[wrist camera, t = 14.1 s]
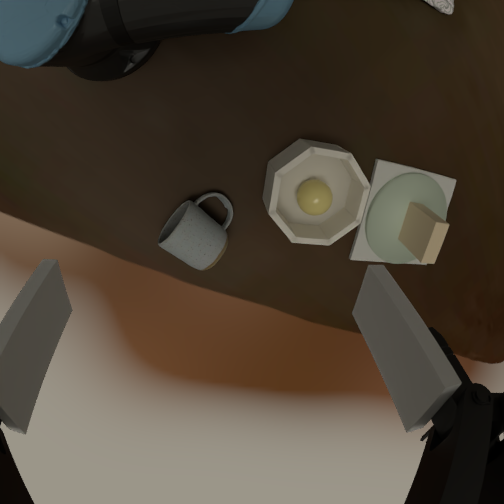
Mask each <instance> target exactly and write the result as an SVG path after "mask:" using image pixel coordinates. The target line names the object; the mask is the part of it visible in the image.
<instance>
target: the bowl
mask: <svg viewBox="0 0 504 504" xmlns="http://www.w3.org/2000/svg"><path fill="white" fill-rule="evenodd" d="M370 187H371V186H370V184H369V183H368V181H367V179H366V177H365V176H364V174H363V172H362V170H361V169H360V167H359V165H358V164H357V162H356V160H355V159H354V157H353V155H352V154H351V153H350V152H348V151H346V150H345V149H343V148H341V147H339V146H338V145H334V144H329V143H323V142H317V141H311V140H305V139H298V140H297V141H296V142H294V143H293V144H291V145H290V146H289V147H287V148H286V149H285V150H283V151H282V152H280V153H279V154H278V155H276V156H275V157H274V158H272V159H271V160H270V161H268V166H267V172H266V179H265V185H264V192H263V198H262V199H263V201H264V204H265V206H266V209H267V212H268V214H269V215H270V216H271V217H272V219H273V220H274V221H275V222H276V223H277V225H278V226H279V227H280V228H281V230H282V231H283V232H284V233H285V235H286V236H287V237H288V238H289V239H290V241H291V242H292V243H304V244H317V245H331V244H332V243H333V242H335V241H336V240H338V239H339V238H341V237H342V236H343V235H345V234H346V233H348V232H349V231H350V230H352V229H353V228H355V227H356V226H357V225H359V224H361V220H362V217H363V213H364V210H365V206H366V202H367V199H368V195H369V191H370Z"/></svg>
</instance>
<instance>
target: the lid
mask: <svg viewBox="0 0 504 504" xmlns="http://www.w3.org/2000/svg"><path fill="white" fill-rule="evenodd" d="M446 216H447V203H446V198H445V194H444V192H443V190H442V188H441V187H440V185H439V184H438V183H437V182H436V181H435V180H433V179H432V178H430V177H428V176H426V175H424V174H421V173H416V172H409V173H404V174H401V175H398V176H396V177H394V178H393V179H391V180H389V181H388V182H387V183H386V184H384V185H383V186H382V187H381V189H380V190H379V191H378V192H377V193H376V195H375V196H374V198H373V200H372V201H371V203H370V206H369V208H368V211H367V214H366V219H365V234H366V239H367V242H368V244H369V246H370V248H371V249H372V250H373V252H374V253H375V254H376V255H377V256H378V257H379V258H381V259H382V260H384V261H386V262H389V263H394V264H401V263H407V262H410V261H413V260H415V259H418V260H419V261H420V263H430V264H434V263H435V261H436V258H437V256H438V253H439V251H440V248H441V246H442V243H443V241H444V238H445V235H446V233H447V230H448V227H449V224H448V223H447V222H446Z"/></svg>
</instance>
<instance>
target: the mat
mask: <svg viewBox="0 0 504 504" xmlns="http://www.w3.org/2000/svg"><path fill="white" fill-rule="evenodd" d="M409 172H416V173H421V174H424V175H426V176H428V177H430V178H432V179H433V180H435V181H436V182H437V183H438V184H439V185H440V187H441V188H442V190H443V192H444V194H445V198H446V203H447V209H448V206H449V203H450V200H451V197H452V194H453V190H454V187H455V184H456V180H455V179H453V178H450V177H446V176H443V175H439V174H436V173H432V172H429V171H425V170H421V169H417V168H414V167H410V166H406V165H402V164H398V163H393V162H389V161H385V160H380V159H376V160H375V164H374V169H373V173H372V177H371V181H370V186H371V187H370V191H369V195H368V199H367V202H366V206H365V210H364V213H363V217H362V220H361V224H359V225H358V229H357V232H356V235H355V239H354V242H353V245H352V249H351V252H350V255H349V259H350V260H361V261H377V262H386V261H384V260H382V259H381V258H379V257H378V256H377V255H376V254H375V253H374V252H373V250H372V249H371V248H370V246H369V244H368V242H367V239H366V234H365V219H366V214H367V211H368V208H369V206H370V203H371V201H372V200H373V198H374V196H375V195H376V193H377V192H378V191H379V190H380V189H381V187H382V186H383V185H384V184H386V183H387V182H388V181H389V180H391V179H393V178H394V177H396V176H398V175H401V174H404V173H409ZM407 263H409V264H425V265H427V263H420V261H419V260H418V259H415V260H413V261H410V262H407Z"/></svg>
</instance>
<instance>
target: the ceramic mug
mask: <svg viewBox="0 0 504 504" xmlns="http://www.w3.org/2000/svg"><path fill="white" fill-rule="evenodd" d="M211 196H216V197H218V199H220V200H221V201H222V203H223V204H224V206H225V208H227V209H228V215H227V218H226V220H225V222H224V224H223V225H222V226H220V225H219V224H218V223H217V222H216V221H215V220H214V219H212V218H211V217H210V216H208V215H207V214H206V213H205V212H204V211H203V210H202V209H201V208H199V207H198V204H199V203H200V202H201V201H202V200H204V199H206V198H207V197H211ZM232 217H233V209H232V205H231V203H230V201H229V200H228V199H227V198H226V197H225V196H224V195H222V194H220V193H214V192H212V193H207V194H204V195H202V196H201V197H199V198H198V199H197V200H196V201H195V202H192V201H190V200H188V201H186V202H185V203H183V204H182V205H181V206H180V207H179V208H178V209H177V210H176V211H175V212H174V213H173V215H172V216H171V217H170V218H169V220H168V221H167V223H166V224H165V226H164V228H163V229H162V232H161V233H160V236H159V239H158V245H159V246H160V247H162V248H163V249H165V250H166V251H168V252H170V253H171V254H173V255H174V256H176V257H177V258H179V259H181V260H182V261H184V262H185V263H187V264H188V265H190V266H192V267H194V268H196V269H199V270H207V269H209V268H211V267H212V266H214V265H215V264H216V263H217V262H218V261H219V259H220V258H221V256H222V255H223V253H224V252H225V250H226V248H227V245H228V234H227V232H226V231H225V229H226V228H227V227H228V226H229V224H230V222H231V220H232Z"/></svg>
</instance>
